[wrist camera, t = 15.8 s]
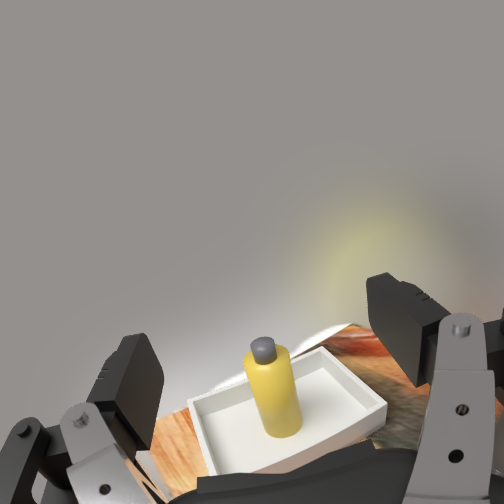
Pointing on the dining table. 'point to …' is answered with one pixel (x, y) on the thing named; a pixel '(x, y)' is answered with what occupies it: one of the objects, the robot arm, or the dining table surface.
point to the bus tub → (312, 410)
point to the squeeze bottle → (273, 387)
